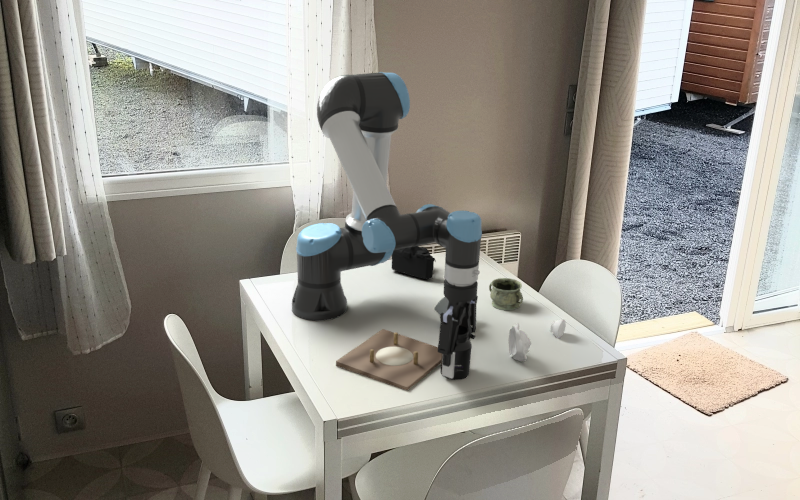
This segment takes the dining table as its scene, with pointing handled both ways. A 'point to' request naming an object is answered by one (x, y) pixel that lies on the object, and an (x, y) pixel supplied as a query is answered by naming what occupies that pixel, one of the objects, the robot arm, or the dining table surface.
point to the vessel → (506, 293)
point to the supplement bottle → (461, 355)
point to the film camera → (413, 262)
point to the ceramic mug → (442, 306)
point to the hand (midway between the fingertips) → (455, 369)
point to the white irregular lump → (558, 328)
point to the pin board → (392, 359)
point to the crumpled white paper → (518, 343)
